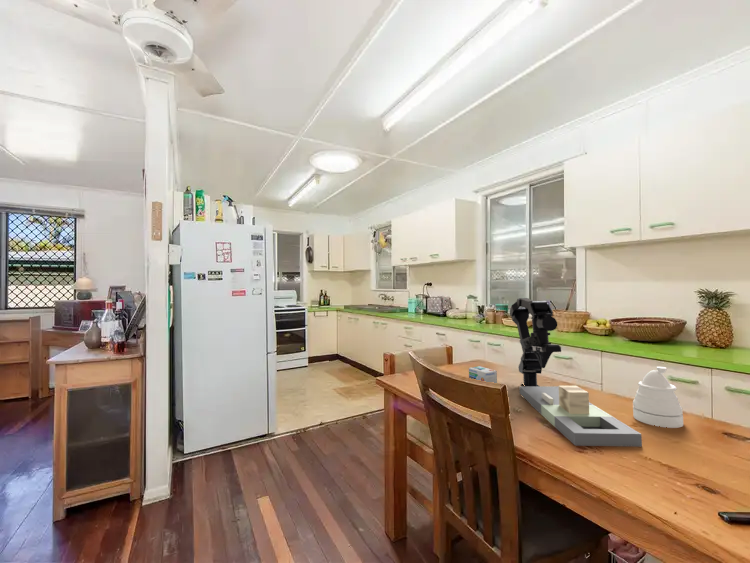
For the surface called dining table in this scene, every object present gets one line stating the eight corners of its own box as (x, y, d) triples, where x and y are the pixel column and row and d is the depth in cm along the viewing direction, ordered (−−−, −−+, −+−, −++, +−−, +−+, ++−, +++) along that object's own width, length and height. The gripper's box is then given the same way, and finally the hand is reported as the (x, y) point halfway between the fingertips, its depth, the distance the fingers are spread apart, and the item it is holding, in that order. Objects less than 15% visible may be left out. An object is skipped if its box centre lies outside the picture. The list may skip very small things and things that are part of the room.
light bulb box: (468, 391, 149) (467, 367, 149) (480, 389, 151) (479, 365, 152) (486, 398, 139) (485, 372, 139) (498, 396, 142) (497, 370, 142)
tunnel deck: (519, 394, 143) (519, 381, 143) (563, 394, 141) (563, 381, 141) (575, 445, 96) (574, 426, 96) (642, 446, 94) (641, 426, 94)
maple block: (559, 405, 119) (558, 385, 119) (577, 405, 118) (576, 385, 118) (570, 413, 111) (569, 392, 111) (589, 413, 110) (588, 392, 110)
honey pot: (692, 423, 109) (689, 368, 109) (668, 430, 104) (665, 372, 105) (648, 411, 121) (645, 360, 121) (624, 416, 116) (622, 364, 117)
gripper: (511, 330, 150) (513, 365, 149) (533, 331, 132) (536, 371, 130) (535, 329, 151) (538, 364, 149) (560, 330, 132) (563, 371, 131)
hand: (543, 367), depth 140 cm, fingers closed
